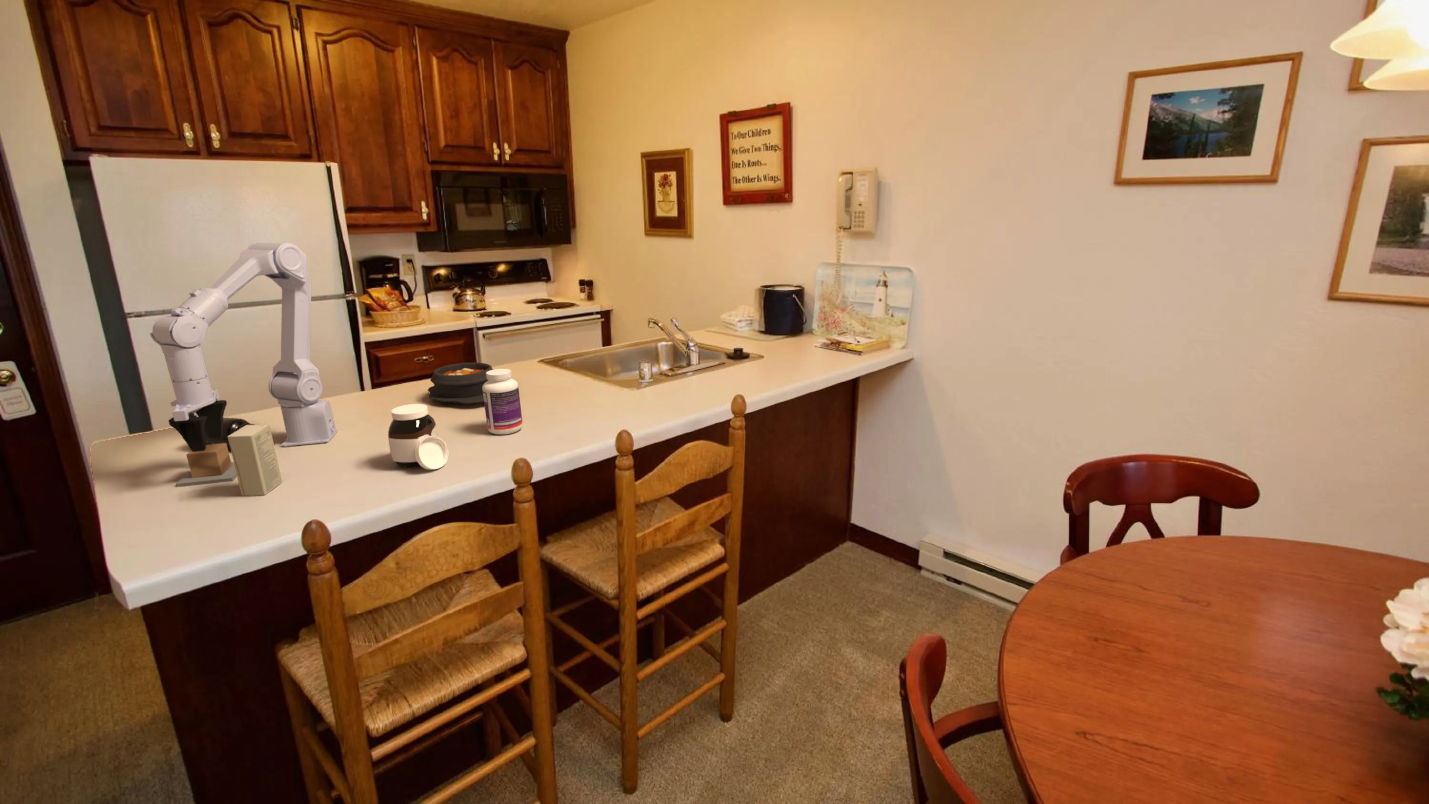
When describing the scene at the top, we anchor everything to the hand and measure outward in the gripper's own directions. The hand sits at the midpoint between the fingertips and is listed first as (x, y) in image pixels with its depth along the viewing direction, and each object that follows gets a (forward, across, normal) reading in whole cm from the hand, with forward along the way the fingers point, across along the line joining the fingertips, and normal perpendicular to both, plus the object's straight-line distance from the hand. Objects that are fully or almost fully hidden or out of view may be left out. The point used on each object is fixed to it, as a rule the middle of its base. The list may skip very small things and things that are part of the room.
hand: (207, 443), depth 131 cm
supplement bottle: (+3, -19, -8) cm, 21 cm away
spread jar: (+7, +6, +40) cm, 41 cm away
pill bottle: (+7, -10, +56) cm, 57 cm away
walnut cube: (+6, 0, 0) cm, 6 cm away
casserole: (+7, -41, +45) cm, 61 cm away
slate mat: (+7, 0, 0) cm, 7 cm away
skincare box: (+7, +11, +12) cm, 18 cm away
